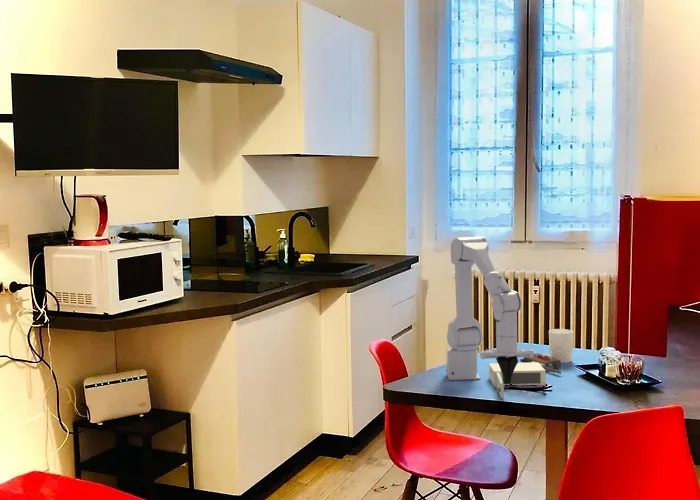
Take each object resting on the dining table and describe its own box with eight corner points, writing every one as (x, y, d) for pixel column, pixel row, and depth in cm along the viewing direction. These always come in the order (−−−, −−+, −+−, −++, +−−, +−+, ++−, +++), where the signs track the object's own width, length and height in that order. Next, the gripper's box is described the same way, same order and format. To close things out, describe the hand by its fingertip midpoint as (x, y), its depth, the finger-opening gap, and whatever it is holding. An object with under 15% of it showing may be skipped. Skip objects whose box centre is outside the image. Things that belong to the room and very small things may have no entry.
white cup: (578, 361, 252) (578, 331, 251) (562, 364, 248) (562, 334, 247) (559, 357, 259) (559, 328, 258) (543, 360, 254) (543, 331, 253)
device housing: (494, 386, 224) (494, 371, 224) (489, 377, 234) (488, 363, 234) (545, 385, 223) (545, 370, 223) (538, 376, 234) (538, 362, 233)
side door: (493, 385, 224) (493, 372, 223) (499, 385, 223) (499, 372, 223) (497, 398, 211) (497, 384, 210) (503, 398, 211) (503, 384, 210)
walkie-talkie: (514, 365, 251) (557, 377, 233) (514, 351, 250) (557, 363, 233) (535, 361, 255) (579, 373, 237) (535, 348, 255) (579, 359, 237)
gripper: (483, 339, 207) (484, 388, 208) (536, 337, 207) (536, 385, 209) (478, 334, 214) (479, 381, 215) (529, 332, 214) (529, 379, 216)
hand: (507, 383), depth 212 cm, fingers closed
